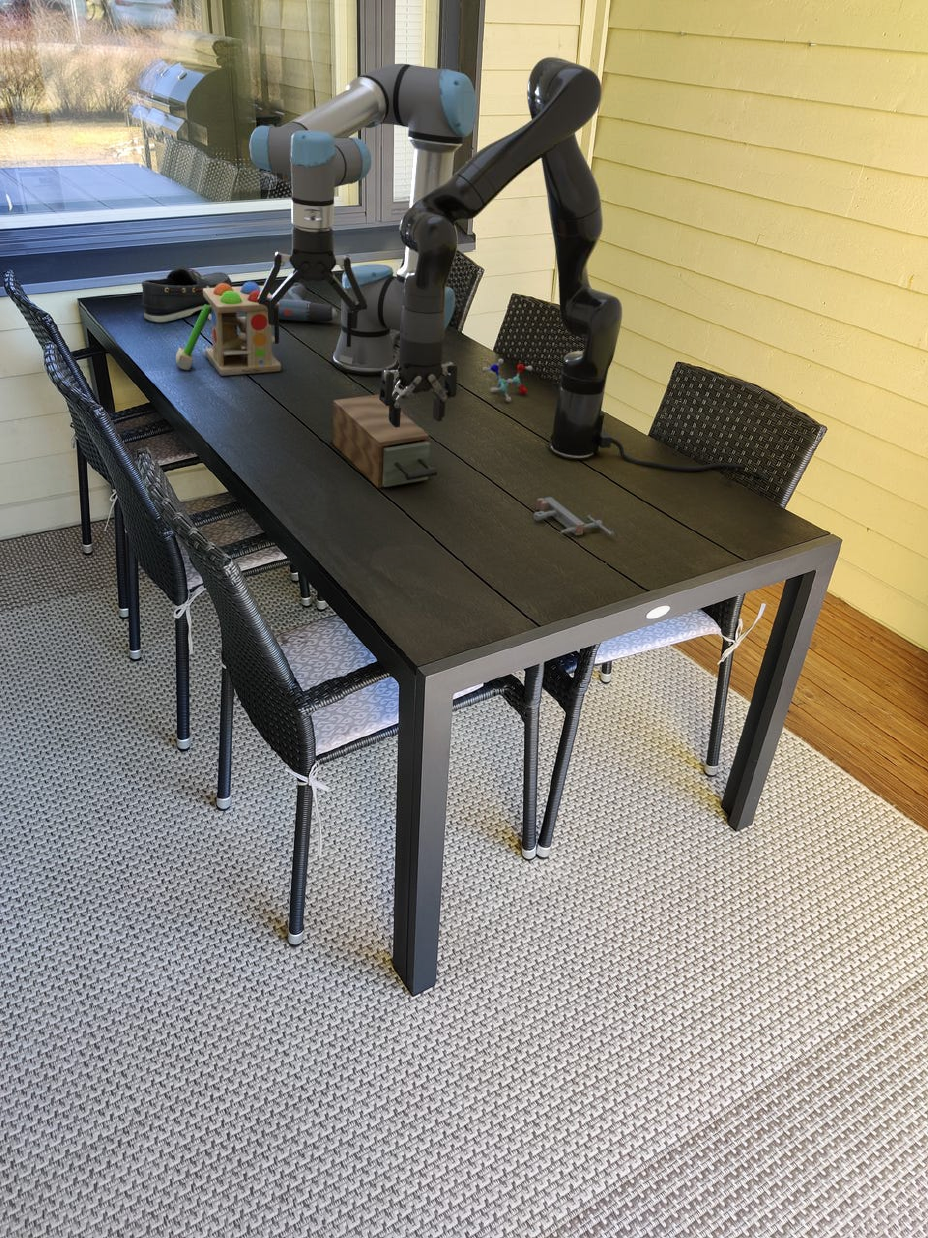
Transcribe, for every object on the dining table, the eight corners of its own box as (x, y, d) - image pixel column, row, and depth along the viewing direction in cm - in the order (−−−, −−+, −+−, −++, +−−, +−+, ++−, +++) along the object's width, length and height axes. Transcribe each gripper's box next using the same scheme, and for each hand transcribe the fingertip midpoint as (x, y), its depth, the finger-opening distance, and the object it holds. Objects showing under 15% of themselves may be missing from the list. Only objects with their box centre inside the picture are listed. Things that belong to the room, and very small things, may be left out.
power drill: (344, 304, 276) (335, 327, 259) (277, 298, 275) (264, 321, 258) (344, 285, 273) (335, 306, 256) (277, 279, 272) (264, 300, 255)
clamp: (523, 501, 180) (568, 492, 185) (522, 511, 182) (566, 502, 186) (570, 539, 170) (616, 528, 174) (568, 550, 171) (614, 539, 176)
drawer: (443, 493, 184) (446, 456, 179) (399, 501, 179) (401, 464, 175) (382, 438, 202) (383, 403, 197) (341, 444, 197) (341, 409, 193)
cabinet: (426, 479, 190) (429, 434, 185) (377, 487, 185) (379, 442, 180) (378, 436, 204) (380, 393, 199) (332, 443, 200) (332, 400, 195)
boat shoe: (251, 301, 273) (249, 262, 267) (161, 324, 249) (157, 282, 243) (217, 292, 278) (215, 254, 273) (126, 314, 254) (121, 273, 249)
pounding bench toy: (183, 379, 220) (176, 299, 210) (169, 357, 231) (162, 280, 221) (282, 371, 230) (280, 294, 220) (264, 350, 240) (262, 276, 230)
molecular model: (528, 394, 221) (514, 351, 219) (490, 408, 224) (476, 365, 223) (540, 392, 231) (527, 351, 230) (504, 406, 235) (491, 365, 234)
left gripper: (240, 227, 171) (245, 346, 183) (383, 236, 175) (379, 352, 187) (243, 217, 178) (247, 333, 189) (381, 226, 181) (377, 339, 193)
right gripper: (394, 344, 161) (390, 436, 171) (469, 337, 168) (461, 425, 177) (374, 330, 167) (371, 419, 176) (447, 323, 173) (440, 410, 182)
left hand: (313, 343), depth 188 cm, fingers open, 13 cm apart
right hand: (416, 422), depth 176 cm, fingers open, 8 cm apart
